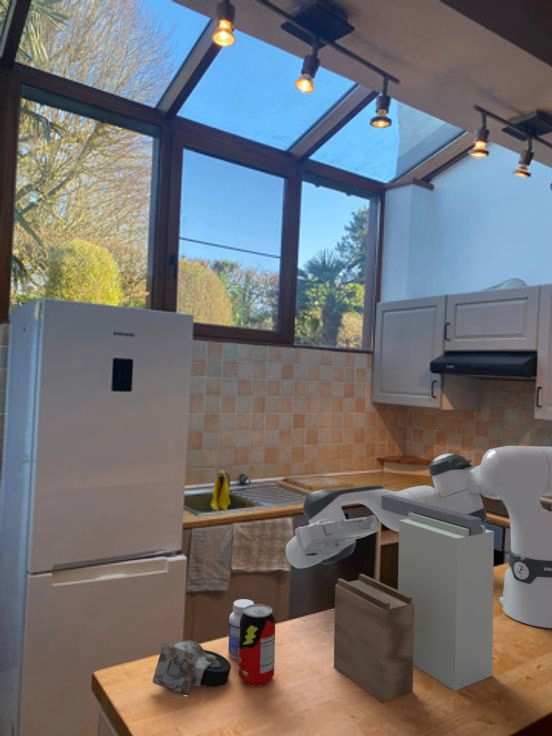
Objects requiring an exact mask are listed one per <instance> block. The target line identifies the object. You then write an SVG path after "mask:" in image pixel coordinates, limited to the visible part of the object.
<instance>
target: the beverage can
mask: <svg viewBox="0 0 552 736" xmlns="http://www.w3.org/2000/svg"><path fill="white" fill-rule="evenodd" d="M243 612H244V613H243V614H242V616H241V618H240V633H239V660H238V676H239V678H240V679H241V681H242V682H244V683H245V684H246V683H247V684H246V685H248V684H249V686H251V685H253V686H252V687H259V685H261V686H264V685H266V684H268V683H269V682H271V680H272V679H273V678H274V675H275V656H276V655H275V654H276V653H275V652H276V651H275V650H276V649H275V648H276V618H275V616H274V614H273V609H272V608H271V606H269V605H266V604H262V603H261V604H259V603H256V604H255V603H254V604H253V605H249V606H246V607H245V608H244V610H243ZM267 682H268V683H267Z"/></svg>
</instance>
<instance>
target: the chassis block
mask: <svg viewBox="0 0 552 736" xmlns="http://www.w3.org/2000/svg"><path fill="white" fill-rule="evenodd" d="M333 636H334V639H333V641H334V642H333V647H334V648H333V668H334V669H336V671H339V672H340V673H341V674H343V675H344V676H345V677H347V678H348V679H350V681H352V682H353V683H355V684H356V685H357V686H358V687H360V688H362V689H363V690H365V692H366V693H368V694H369V695H371V696H372V697H374V698H375V699H377V700H378V701H379V702H380V703H382V704H383V703H386V702H389V701H391V700H393V699H396V698H399V697H401V696H404V695H407V694H409V693H412V692H414V665H413V652H414V602H412V597H411V596H409V595H406V594H404V593H402V592H400V591H398V589H395V588H393V587H392V586H389V585H387V584H385V583H383V582H380V581H379V580H376V579H374V578H372V577H370V576H368V575H366V574H363V573H360V574H359V575H358V579H355V580H351V581H347V580H345V579H344V578H337V584H335V587H334V635H333Z"/></svg>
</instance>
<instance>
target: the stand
mask: <svg viewBox="0 0 552 736" xmlns="http://www.w3.org/2000/svg"><path fill="white" fill-rule="evenodd" d="M494 539H495V533H494V531H493V530H490V529H487V528H486V526H485V525H483V524H482V525H481V534H478V535H473V536H470V535H469V529H467V528H463V527H460V526H456V525H453V524H449V523H446V522H442V521H439V520H435V519H432V518H428V517H425V516H421V515H418V514H415V513H408V519H405V520H399V532H398V562H397V563H398V564H397V567H398V568H397V569H398V571H397V572H398V573H397V574H398V576H397V590H398V591H400V592H402V593H404V594H406V595H409V596H411V597H412V602H414V652H413V667H415V668H417V669H418V670H420V671H422V672H423V673H425V674H427V675H428V676H430V677H431V678H433V679H435V680H437V681H439V683H442V684H443V685H444V686H446V687H448V688H450V689H451V690H453V691H454V692H455V691H459V690H461V689H463V688H466V687H468V686H470V685H473V684H475V683H478V682H481V681H482V680H485V679H487V678H488V679H489V678H490V677H492V676H493V658H494V657H493V655H494V654H493V648H494V647H493V645H494V644H493V643H494V641H493V640H494V639H493V638H494V637H493V636H494V565H495V563H494V556H495V555H494V550H495V548H494V546H495V540H494Z"/></svg>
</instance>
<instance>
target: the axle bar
mask: <svg viewBox="0 0 552 736" xmlns="http://www.w3.org/2000/svg"><path fill="white" fill-rule="evenodd" d="M381 509H383V510H386V511H390V512H393V513H396V514H400V515H403V516H406V517H408V513H415V514H418V515H421V516H425V517H428V518H432V519H435V520H439V521H442V522H446V523H449V524H453V525H456V526H460V527H463V528H467V529H469V535H470V536H473V535H478V534H481V518H478V517H475V516H471V515H467V514H463V513H459V512H456V511H452V510H448V509H444V508H440V507H436V506H433V505H429V504H425V503H421V502H417V501H413V500H410V499H406V498H402V497H398V496H394V495H384V496H381Z"/></svg>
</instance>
